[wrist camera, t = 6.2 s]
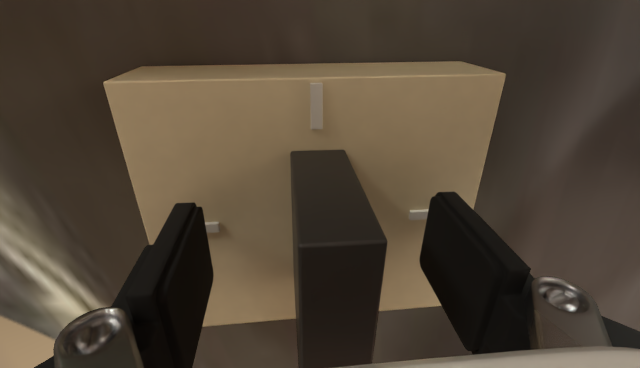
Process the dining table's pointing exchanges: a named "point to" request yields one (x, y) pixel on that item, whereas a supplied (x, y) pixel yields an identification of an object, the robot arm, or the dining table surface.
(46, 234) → the dining table surface
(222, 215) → the panel
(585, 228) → the dining table surface
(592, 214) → the dining table surface
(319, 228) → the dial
